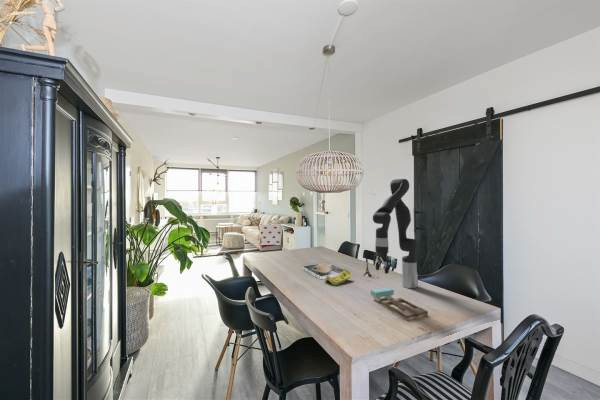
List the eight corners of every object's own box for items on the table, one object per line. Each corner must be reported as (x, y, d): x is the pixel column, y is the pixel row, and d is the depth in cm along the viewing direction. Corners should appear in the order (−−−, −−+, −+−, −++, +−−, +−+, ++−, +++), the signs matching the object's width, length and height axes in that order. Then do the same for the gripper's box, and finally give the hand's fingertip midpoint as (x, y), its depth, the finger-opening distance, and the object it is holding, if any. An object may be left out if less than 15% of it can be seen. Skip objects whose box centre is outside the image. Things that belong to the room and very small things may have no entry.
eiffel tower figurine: (379, 278, 206) (379, 261, 206) (368, 279, 202) (368, 262, 202) (367, 273, 220) (367, 257, 220) (357, 274, 216) (357, 258, 216)
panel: (388, 296, 167) (388, 287, 167) (393, 298, 163) (393, 289, 163) (370, 299, 163) (370, 290, 163) (375, 301, 158) (375, 292, 158)
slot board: (400, 301, 158) (400, 297, 158) (427, 315, 139) (427, 311, 139) (381, 305, 153) (381, 301, 153) (406, 320, 134) (406, 315, 134)
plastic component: (335, 283, 187) (326, 274, 194) (332, 291, 190) (323, 282, 197) (354, 275, 199) (344, 267, 206) (351, 283, 202) (342, 274, 209)
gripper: (394, 246, 157) (394, 274, 157) (379, 242, 171) (379, 268, 171) (384, 247, 155) (384, 275, 155) (369, 243, 168) (369, 269, 168)
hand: (382, 271), depth 163 cm, fingers open, 8 cm apart
